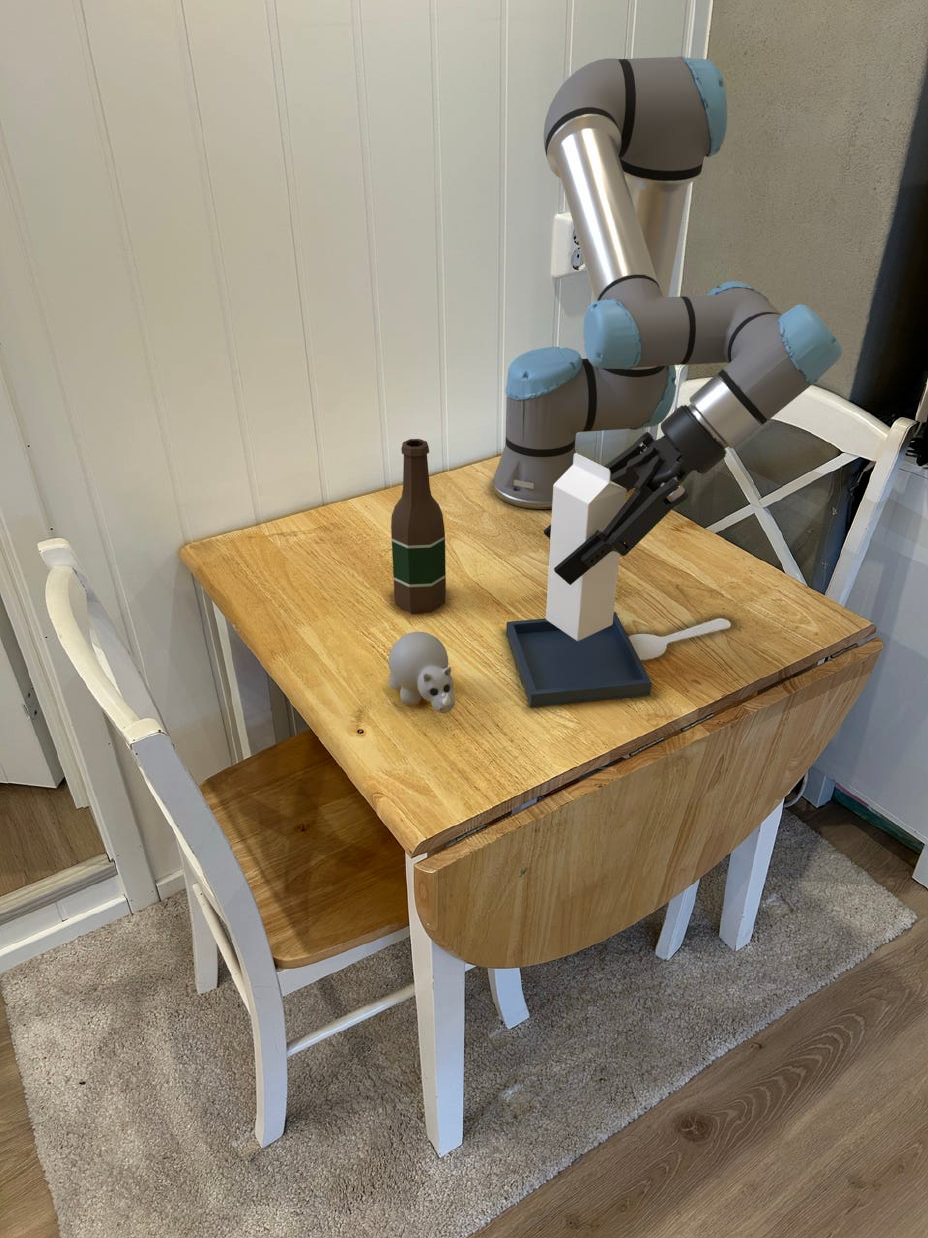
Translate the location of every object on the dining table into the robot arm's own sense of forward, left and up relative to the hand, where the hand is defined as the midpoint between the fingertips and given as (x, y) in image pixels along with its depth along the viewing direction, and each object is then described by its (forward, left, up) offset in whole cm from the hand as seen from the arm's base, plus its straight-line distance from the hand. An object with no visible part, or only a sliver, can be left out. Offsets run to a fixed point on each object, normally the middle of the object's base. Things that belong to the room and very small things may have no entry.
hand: (556, 557), depth 114 cm
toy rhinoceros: (+5, -17, -16) cm, 24 cm away
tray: (0, +3, -16) cm, 16 cm away
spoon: (-3, +18, -17) cm, 25 cm away
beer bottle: (-18, -15, -16) cm, 28 cm away
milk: (0, +3, -10) cm, 10 cm away
